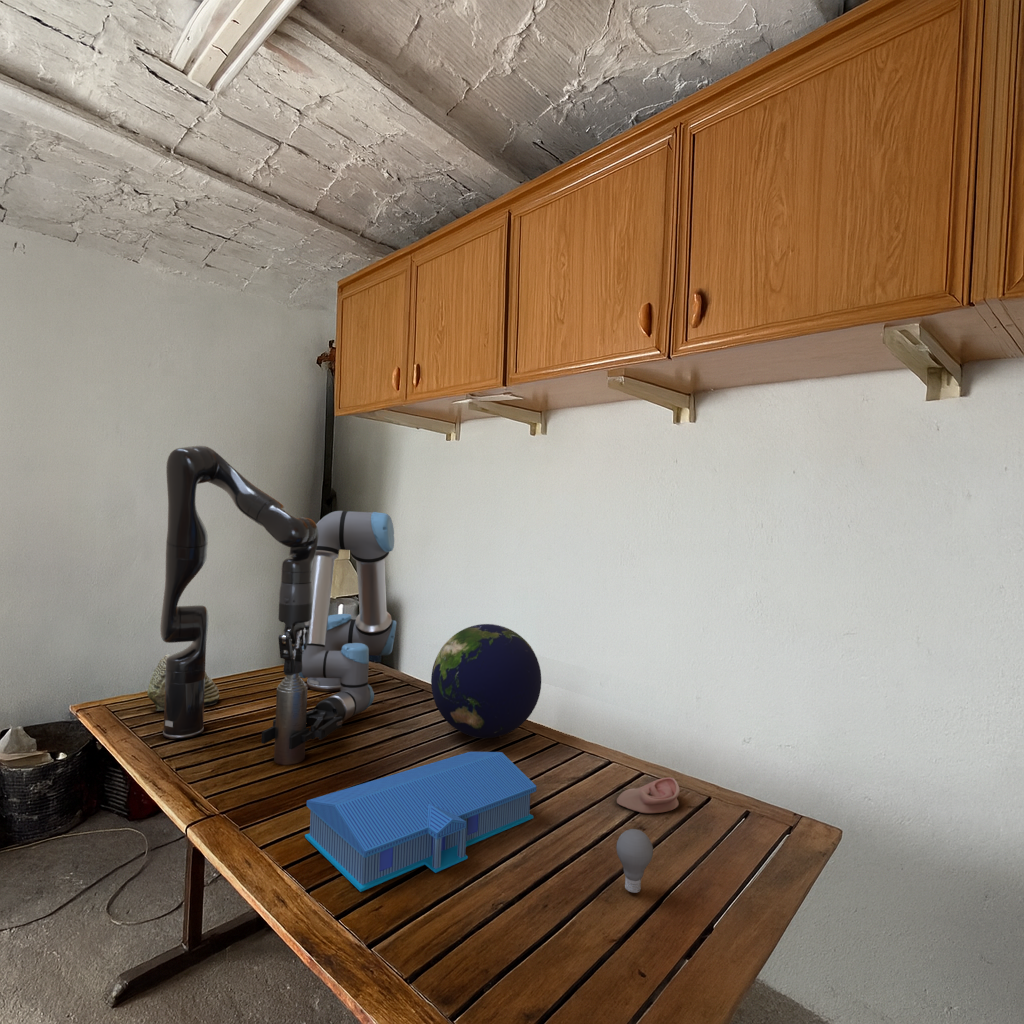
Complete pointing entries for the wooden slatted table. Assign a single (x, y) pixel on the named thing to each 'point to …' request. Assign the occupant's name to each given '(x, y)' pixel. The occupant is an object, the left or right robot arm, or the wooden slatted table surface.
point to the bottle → (290, 719)
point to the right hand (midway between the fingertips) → (276, 740)
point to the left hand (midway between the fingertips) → (293, 671)
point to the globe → (486, 681)
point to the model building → (419, 816)
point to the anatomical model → (652, 796)
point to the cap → (297, 667)
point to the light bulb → (634, 857)
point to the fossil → (158, 687)
